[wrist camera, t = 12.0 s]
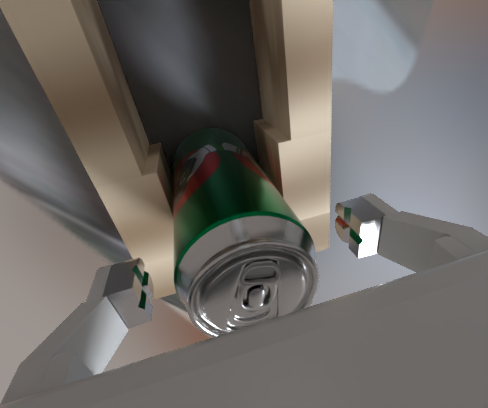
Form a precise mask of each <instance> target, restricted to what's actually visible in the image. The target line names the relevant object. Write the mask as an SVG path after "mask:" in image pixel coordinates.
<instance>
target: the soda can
mask: <svg viewBox="0 0 488 408" xmlns="http://www.w3.org/2000/svg"><path fill="white" fill-rule="evenodd" d="M173 212H174V286H175V290H176V293H177V295H178V297H179V299H180V300H181V302H182V303H183V304H184V305H185V306H186V307H187V312H188V314H189V316H190V319H191V321H192V322H193V324H194V325H195V326H196V327H197V328H198V329H199V330H200V331H202V332H203V333H205V334H207V335H209V336H211V337H216V336H219V335H222V334H226V333H229V332H232V331H235V330H238V329H241V328H244V327H248V326H251V325H254V324H257V323H260V322H263V321H266V320H270V319H273V318H276V317H279V316H282V315H285V314H288V313H292V312H295V311H298V310H301V309H304V308H307V307H308V306H309V305H310V304H311V302H312V301H313V299H314V297H315V295H316V293H317V290H318V285H319V272H318V268H317V264H316V263H315V257H316V256H315V246H314V242H313V240H312V237H311V235H310V234H309V232H308V231H307V230H306V228H305V227H304V225H303V224H302V223H301V221H300V220H299V219H298V217H297V216H296V215H295V213H294V212H293V211H292V209H291V208H290V207H289V205H288V204H287V203H286V201H285V200H284V199H283V197H282V196H281V194H280V193H279V192H278V190H277V189H276V188H275V186H274V185H273V184H272V182H271V181H270V180H269V178H268V177H267V176H266V174H265V173H264V172H263V170H262V169H261V168H260V166H259V165H258V163H257V162H256V161H255V159H254V158H253V157H252V155H251V154H250V153H249V151H248V150H247V149H246V147H245V146H244V145H243V143H242V142H241V141H240V139H239V138H237V137H236V136H235V135H234V134H232V133H231V132H229V131H226V130H224V129H220V128H204V129H200V130H197V131H195V132H193V133H191V134H189V135H188V136H187V137H186V138H185V139H184V140H183V141H182V142H181V143H180V145H179V146H178V148H177V150H176V152H175V156H174V164H173Z"/></svg>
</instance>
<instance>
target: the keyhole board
mask: <svg viewBox="0 0 488 408" xmlns="http://www.w3.org/2000/svg"><path fill="white" fill-rule="evenodd" d="M249 6H250V14H251V22H252V30H253V39H254V47H255V55H256V63H257V72H258V80H259V88H260V96H261V105H262V113H263V119H260V120H255V121H253V123H254V130H255V137H256V144H257V151H258V158H259V165H260V168H261V169H262V170H263V172H264V173H265V174H266V176H267V177H268V178H269V180H270V181H271V182H272V184H273V185H274V186H275V188H276V189H277V190H278V192H279V193H280V194H281V196H282V197H283V199H284V200H285V201H286V203H287V204H288V205H289V207H290V208H291V209H292V211H293V212H294V213H295V215H296V216H297V217H298V219H299V220H300V221H301V223H302V224H303V225H304V227H305V228H306V230H307V231H308V232H309V234H310V235H311V237H312V240H313V242H314V246H315V252H317V251H321V250H324V249H328V248H329V238H330V168H331V167H330V165H331V164H330V163H331V99H332V30H333V0H249ZM0 8H1V10H2V12H3V14H4V16H5V18H6V20H7V22H8V24H9V25H10V27H11V29H12V31H13V33H14V35H15V37H16V39H17V41H18V42H19V44H20V46H21V48H22V50H23V52H24V54H25V56H26V58H27V59H28V61H29V63H30V65H31V67H32V69H33V71H34V73H35V75H36V76H37V78H38V80H39V82H40V84H41V86H42V88H43V90H44V92H45V94H46V95H47V97H48V99H49V101H50V103H51V105H52V107H53V109H54V111H55V112H56V114H57V116H58V118H59V120H60V122H61V124H62V126H63V128H64V129H65V131H66V133H67V135H68V137H69V139H70V141H71V143H72V145H73V147H74V148H75V150H76V152H77V154H78V156H79V158H80V160H81V162H82V164H83V165H84V167H85V169H86V171H87V173H88V175H89V177H90V179H91V181H92V182H93V184H94V186H95V188H96V190H97V192H98V194H99V196H100V198H101V199H102V201H103V203H104V205H105V207H106V209H107V211H108V213H109V215H110V217H111V218H112V220H113V222H114V224H115V226H116V228H117V230H118V232H119V234H120V235H121V237H122V239H123V241H124V243H125V245H126V247H127V249H128V251H129V252H130V254H131V256H132V258H133V259H136V258H141V259H142V261H143V263H144V264H145V267H144V271H146V272H148V273H149V274H150V276H151V279H152V282H153V288H154V296H153V298H154V299H158V298H161V297H164V296H168V295H171V294H175V293H176V290H175V286H174V212H173V177H172V174H171V171H170V168H169V165H168V162H167V159H166V156H165V153H164V150H163V147H162V144H161V142H160V143H155V144H151V145H150V144H149V141H148V138H147V136H146V133H145V130H144V127H143V125H142V122H141V119H140V117H139V114H138V111H137V108H136V106H135V103H134V100H133V97H132V95H131V92H130V89H129V86H128V84H127V81H126V78H125V76H124V73H123V70H122V67H121V65H120V62H119V59H118V56H117V54H116V51H115V48H114V45H113V43H112V40H111V37H110V35H109V32H108V29H107V26H106V24H105V21H104V18H103V15H102V13H101V10H100V7H99V4H98V2H97V0H0Z"/></svg>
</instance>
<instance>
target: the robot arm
mask: <svg viewBox="0 0 488 408" xmlns="http://www.w3.org/2000/svg"><path fill="white" fill-rule="evenodd" d="M335 212H336V213H337V214H338V217H337V218H336V220H335V228H336V231H337V234H338V236H339V237H340V238H341V239H342V241H344V242H347V243H349V249H350V250H351V251H352V252H353V253H354V254H355V255H356V257H357V258H362V257H365V256H369V255H373V254H376V253H378V254H379V255H381V256H383V257H385V258H387V259H389V260H391V261H394V262H396V263H398V264H400V265H402V266H404V267H406V268H408V269H410V270H413V271H415V272H417V273H414V274H411V275H408V276H405V277H402V278H399V279H396V280H393V281H389V282H386V283H383V284H380V285H377V286H374V287H371V288H367V289H364V290H361V291H358V292H355V293H352V294H349V295H345V296H342V297H339V298H336V299H332V300H329V301H326V302H323V303H320V304H317V305H314V306H310V307H307V308H304V309H301V310H298V311H295V312H292V313H288V314H285V315H282V316H279V317H276V318H273V319H270V320H266V321H263V322H260V323H257V324H254V325H251V326H248V327H244V328H241V329H238V330H235V331H232V332H229V333H226V334H222V335H219V336H216V337H213V338H210V339H207V340H203V341H200V342H197V343H194V344H191V345H188V346H185V347H182V348H178V349H175V350H172V351H169V352H166V353H163V354H160V355H156V356H153V357H150V358H147V359H144V360H141V361H138V362H134V363H131V364H128V365H125V366H122V367H119V368H116V369H112V370H109V371H106V372H103V370H104V369H105V367H106V365H107V364H108V362H109V360H110V359H111V357H112V356H113V354H114V353H115V351H116V349H117V348H118V346H119V344H120V343H121V341H122V340H123V338H124V336H125V335H126V333H127V332H128V329H129V328H132V327H135V326H138V325H140V324H144V323H147V322H150V321H151V319H152V308H153V306H152V304H151V302H150V300H151V299H152V298H153V296H154V288H153V282H152V279H151V276H150V274H149V273H148V272H146V271H144V267H145V264H144V263H143V261H142V259H141V258H136V259H132V260H128V261H124V262H120V263H116V264H113V265H108V266H105V267H101V268H99V269H98V270H97V272H96V274H95V277H94V280H93V283H92V286H91V289H90V292H89V295H88V297H87V300H86V302H84V303H81V304H80V305H79V306H78V307H77V308H76V309H75V310H74V311H73V312H72V313H71V314H70V315H69V316H68V317H67V318H66V319H65V320H64V321H63V322H62V323H61V324H60V325H59V326H58V327H57V328H56V329H55V330H54V331H53V332H52V333H51V334H50V335H49V336H48V337H47V338H46V339H45V340H44V341H43V342H42V343H41V344H40V345H39V346H38V347H37V348H36V349H35V350H34V351H33V352H32V353H31V354H30V355H29V356H28V357H27V358H26V359H25V360H24V361H23V362H22V363H21V364H20V365H19V367H18V369H17V371H16V373H15V375H14V377H13V379H12V382H11V383H10V385H9V388H8V390H7V392H6V394H5V396H4V398H3V400H2V402H1V404H0V408H488V237H487V236H485V235H483V234H482V233H480V232H478V231H477V230H475V229H473V228H471V227H467V226H463V225H459V224H455V223H450V222H446V221H442V220H437V219H433V218H429V217H425V216H421V215H416V214H412V213H408V212H403V211H401V212H398V211H396V210H395V209H394V208H392V207H391V206H389V205H388V204H387V203H385V202H384V201H382V200H381V199H380V198H378V197H377V196H375V195H374V194H371V193H370V194H367V195H363V196H360V197H358V198H354V199H351V200H347V201H344V202H340V203H337V205H336V209H335ZM102 372H103V373H102Z"/></svg>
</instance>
